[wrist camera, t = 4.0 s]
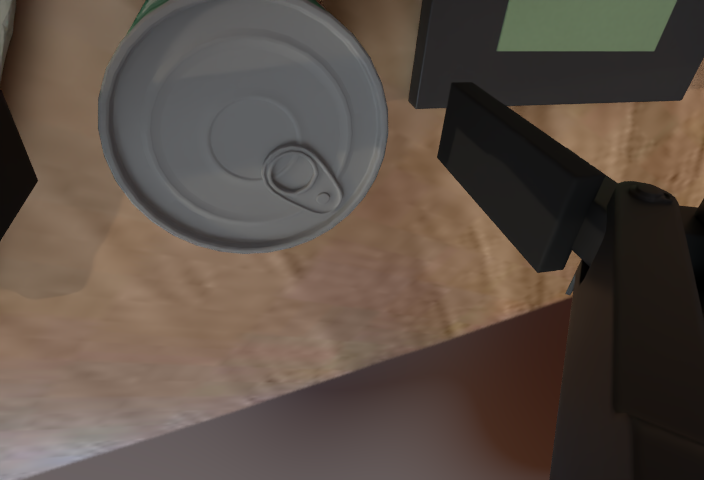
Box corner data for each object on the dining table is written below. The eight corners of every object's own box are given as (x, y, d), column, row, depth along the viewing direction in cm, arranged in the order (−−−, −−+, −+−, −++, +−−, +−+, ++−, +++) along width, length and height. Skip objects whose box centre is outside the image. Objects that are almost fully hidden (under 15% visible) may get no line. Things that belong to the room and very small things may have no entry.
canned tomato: (106, 41, 20) (27, 153, 11) (224, -107, 18) (237, -108, 9) (245, 152, 24) (264, 290, 16) (352, 45, 22) (438, 137, 14)
